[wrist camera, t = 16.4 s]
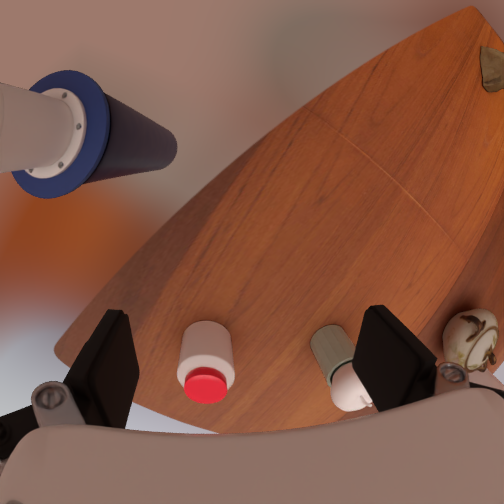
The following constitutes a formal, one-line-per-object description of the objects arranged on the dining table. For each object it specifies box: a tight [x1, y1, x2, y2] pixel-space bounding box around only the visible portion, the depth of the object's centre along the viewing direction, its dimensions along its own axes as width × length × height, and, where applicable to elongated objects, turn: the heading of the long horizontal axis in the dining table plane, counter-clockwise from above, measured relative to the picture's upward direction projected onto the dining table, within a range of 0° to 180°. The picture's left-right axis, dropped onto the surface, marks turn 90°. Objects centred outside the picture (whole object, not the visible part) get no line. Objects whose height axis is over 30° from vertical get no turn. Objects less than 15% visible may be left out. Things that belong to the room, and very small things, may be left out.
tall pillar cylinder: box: [468, 365, 504, 391], centre depth 45 cm, size 11×11×25 cm
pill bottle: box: [177, 321, 235, 404], centre depth 38 cm, size 8×8×11 cm
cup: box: [310, 325, 356, 387], centre depth 41 cm, size 6×6×9 cm
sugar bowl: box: [443, 309, 499, 373], centre depth 43 cm, size 20×15×15 cm
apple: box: [331, 362, 372, 411], centre depth 34 cm, size 7×7×8 cm
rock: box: [480, 46, 504, 92], centre depth 30 cm, size 11×9×10 cm
